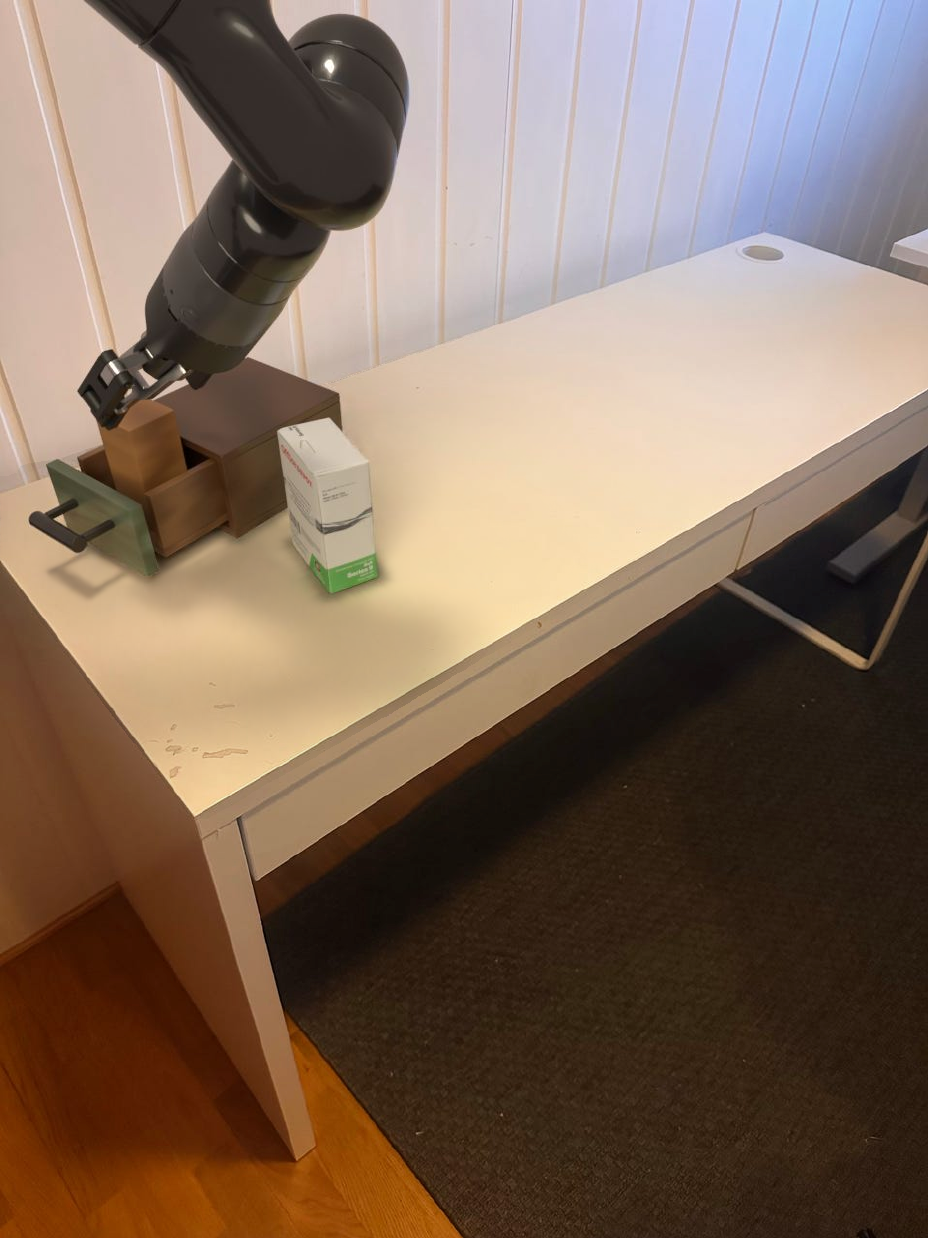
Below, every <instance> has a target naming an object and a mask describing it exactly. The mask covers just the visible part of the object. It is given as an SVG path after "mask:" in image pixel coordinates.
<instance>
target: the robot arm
mask: <svg viewBox="0 0 928 1238" xmlns="http://www.w3.org/2000/svg"><path fill="white" fill-rule="evenodd" d="M83 2H84V3H85V4H86V5H88V7H90V8H91V9H92V10H93V11H94V12H96V13H97V14H98V15H100V16H101V18H103V19H104V20H106V22H108V24H110V25H111V26H112V27H113V28H115V29H116V30H117V31H118V32H119V33H121V34H122V35H123V36H124V37H125V38H126V39H127V40H129V41H130V42H131V43H132V44H133V45H137V47H138V49H139V50H140V51H142V52H143V53H144V54H145V55H146V56H148V57H149V58H151V59H152V60H153V61H155V62H156V64H158V65H159V66H160V67H161V68H162V69H163V70H164V71H165V72H166V74H168V76H169V77H170V78H171V80H172V81H173V82H174V84H175V85H176V87H177V88H178V90H179V91H180V92H181V93H182V95H183V96H184V98H185V100H186V101H187V103H188V105H190V107H191V108H192V109H193V111H194V112H195V113H196V115H197V116H198V117H199V119H200V120H201V121H202V122H203V123H204V125H205V126H206V127H207V129H208V130H209V131H210V132H211V134H212V135H213V136H214V137H215V139H216V140H217V141H218V143H219V144H220V145H221V147H222V148H223V149H224V150H225V152H226V153H227V154H228V155H229V157H230V158H231V161H230V162H229V164H228V166H227V167H226V169H225V170H224V172H223V173H222V174H221V176H220V177H219V179H218V180H217V182H216V183H215V185H214V186H213V188H212V189H211V191H210V193H209V195H208V196H207V198H206V200H205V201H204V203H203V205H202V207H201V208H200V210H199V212H198V214H197V215H196V217H195V218H194V220H193V221H192V222H191V223H190V224H189V225H188V226H187V227H186V229H185V230H184V231H183V232H182V233H181V235H180V237H179V238H178V240H177V241H176V243H175V245H174V246H173V249H172V250H171V252H170V254H169V256H168V257H167V259H166V261H165V262H164V264H163V266H162V268H161V270H160V271H159V274H158V275H157V277H156V279H155V280H154V281H153V284H152V286H151V287H150V290H149V291H148V293H147V296H146V299H145V303H144V318H145V329H146V330H145V331H143V332H142V333H141V335H140V339H139V340H138V341H137V342H135V344H133V345H132V346H131V347H130V348H128V349H127V350H126V351H125V352H123V353H122V354H121V355H117V353H116V351H114V349H112V348H111V349H107V350H104V351H102V352H101V353H100V354H99V355H98V356H97V358H96V360H95V361H94V363H93V364H92V366H91V368H90V369H89V371H88V372H87V375H86V376H85V377H84V379H83V381H82V382H81V384H80V386H79V387H78V389H77V391H76V392H77V394H78V395H79V396H80V398H82V399H83V401H84V402H85V403H86V405H87V406H88V407H89V408H90V410H89V411H90V413H91V415H92V416H93V417H94V419H95V421H96V420H97V421H98V423H99V424H100V426H101V427H105V428H106V429H107V430H109V431H110V430H112V429H114V428H116V427H118V425H119V424H120V422H121V421H122V419H123V418H124V416H125V415H126V413H127V412H128V410H129V408H131V407H132V406H133V405H134V404H136V403H137V402H138V401H139V400H150V399H151V400H154V399H156V398H157V396H159V395H160V394H161V393H163V392H164V391H165V390H166V389H168V388H169V387H170V386H171V385H173V384H174V383H175V382H181V381H183V380H186V382H187V383H188V384H189V385H190V386H191V387H192V389H194V390H197V389H199V388H202V387H203V386H204V385H205V384H206V382H207V381H208V380H209V378H210V377H211V376H212V375H213V374H216V373H222V372H226V371H229V370H231V369H233V368H235V367H236V366H238V365H239V364H240V363H241V362H242V361H243V360H244V359H245V358H247V357H248V355H249V354H250V353H251V351H252V350H253V349H254V348H255V346H256V345H257V344H258V343H259V342H260V340H261V339H262V338H263V337H264V335H265V334H266V333H267V332H268V331H269V329H270V328H271V326H272V325H273V324H274V323H275V322H276V320H277V319H278V318H279V316H280V315H281V314H282V312H283V311H284V309H285V307H286V305H287V303H288V301H289V299H290V297H291V295H292V294H293V293H294V291H295V290H296V289H297V288H298V286H299V285H300V284H301V282H302V281H303V280H304V279H305V278H306V277H307V275H308V274H309V273H310V272H311V270H312V269H313V268H314V266H315V265H316V264H317V262H318V261H319V259H320V257H321V256H322V254H323V252H324V250H325V248H326V246H327V243H328V242H329V239H330V235H331V233H332V231H333V232H344V231H350V230H354V229H357V228H361V227H363V226H364V225H367V224H368V223H369V222H371V220H372V221H373V219H374V218H375V217H376V216H377V215H378V214H379V213H380V212H381V210H382V209H383V207H384V205H385V203H386V202H387V199H388V198H389V195H390V192H391V189H392V186H393V182H394V177H395V173H396V169H397V164H398V158H399V154H400V149H401V146H402V145H401V144H402V140H403V136H404V132H405V131H404V130H405V128H406V127H405V126H406V122H407V118H408V114H409V107H410V81H409V76H408V70H407V67H406V65H405V61H404V59H403V55H402V54H401V52H400V50H399V47H397V44H396V43H395V41H394V40H393V39H392V38H391V37H390V35H388V33H386V31H385V30H384V29H383V28H381V27H380V26H379V25H378V24H376V23H374V22H372V21H370V20H369V19H367V18H365V17H361V16H358V15H355V14H350V13H332V14H326V15H322V16H319V17H317V18H315V19H313V20H311V21H308V22H307V23H306V24H304V25H303V26H301V27H300V28H299V29H298V30H296V32H295V33H294V34H293V35H292V36H291V37H290V38H289V39H287V37H285V35H284V34H283V32H282V30H281V29H280V28H279V25H278V24H277V21H276V18H275V16H274V13H273V9H272V4H271V0H83ZM140 370H142V371H143V372H144V373H146V374H147V375H149V376H150V377H152V378H153V379H154V380H156V381H154V382H153V384H151V385H150V384H149V383H148V382H147V381H146V379H145V378H144V376H143V375H142V373H141V372H140ZM130 390H131V392H130V393H129V394H128V395H127V396H126V394H127V393H128V391H130ZM97 421H96V422H97Z"/></svg>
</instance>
